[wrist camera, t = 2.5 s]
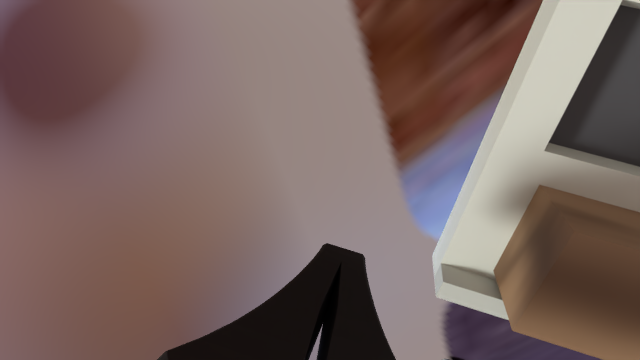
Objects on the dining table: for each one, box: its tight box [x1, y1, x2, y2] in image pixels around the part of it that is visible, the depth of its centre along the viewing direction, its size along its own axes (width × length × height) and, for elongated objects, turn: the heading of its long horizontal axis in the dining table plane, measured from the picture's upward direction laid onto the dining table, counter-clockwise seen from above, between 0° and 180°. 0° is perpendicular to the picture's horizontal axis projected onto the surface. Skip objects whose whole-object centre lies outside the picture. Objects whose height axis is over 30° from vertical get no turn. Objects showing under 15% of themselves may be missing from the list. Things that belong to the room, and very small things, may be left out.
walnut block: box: [493, 185, 640, 360], centre depth 16 cm, size 5×5×4 cm
